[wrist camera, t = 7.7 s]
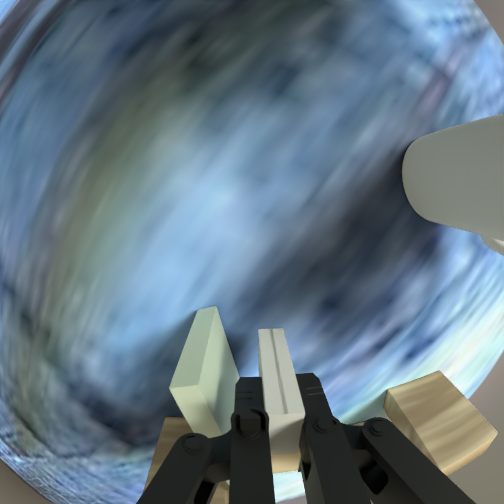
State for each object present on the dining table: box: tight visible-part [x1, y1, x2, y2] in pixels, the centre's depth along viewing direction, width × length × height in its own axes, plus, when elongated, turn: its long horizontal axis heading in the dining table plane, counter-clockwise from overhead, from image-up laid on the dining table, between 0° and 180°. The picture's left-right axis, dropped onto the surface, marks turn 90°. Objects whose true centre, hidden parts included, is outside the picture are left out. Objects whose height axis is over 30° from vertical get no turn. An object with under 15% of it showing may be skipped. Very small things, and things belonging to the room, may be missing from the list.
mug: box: [402, 113, 504, 256], centre depth 10 cm, size 10×7×12 cm, turn 42°
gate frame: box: [143, 371, 498, 504], centre depth 15 cm, size 10×25×10 cm, turn 96°
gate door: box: [169, 306, 240, 484], centre depth 14 cm, size 12×1×8 cm, turn 13°
